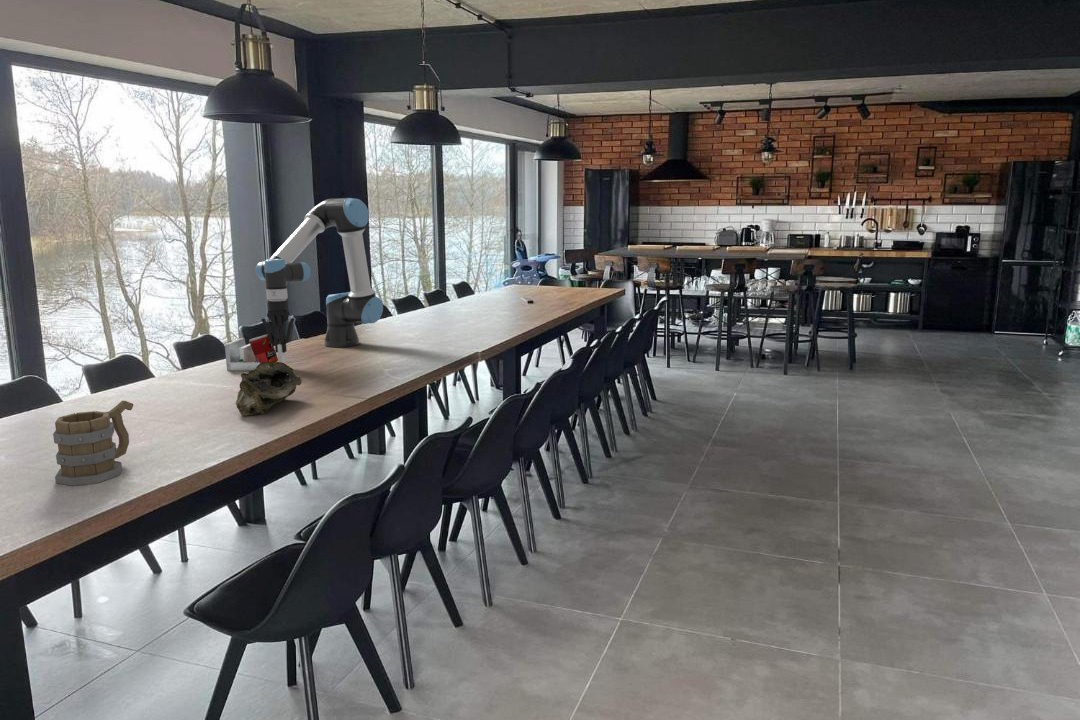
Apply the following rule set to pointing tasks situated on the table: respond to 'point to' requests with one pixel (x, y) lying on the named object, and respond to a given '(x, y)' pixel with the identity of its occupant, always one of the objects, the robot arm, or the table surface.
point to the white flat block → (246, 354)
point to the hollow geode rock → (265, 387)
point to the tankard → (90, 445)
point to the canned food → (263, 349)
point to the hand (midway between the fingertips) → (281, 360)
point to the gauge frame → (237, 356)
